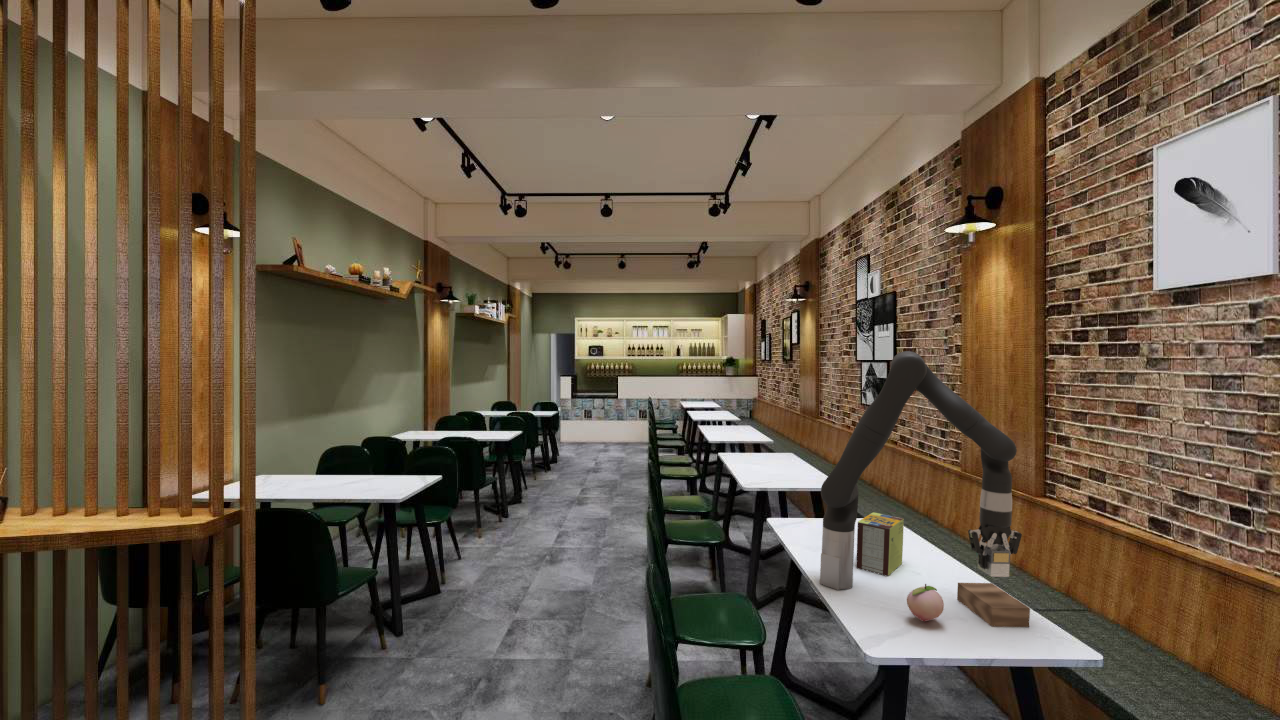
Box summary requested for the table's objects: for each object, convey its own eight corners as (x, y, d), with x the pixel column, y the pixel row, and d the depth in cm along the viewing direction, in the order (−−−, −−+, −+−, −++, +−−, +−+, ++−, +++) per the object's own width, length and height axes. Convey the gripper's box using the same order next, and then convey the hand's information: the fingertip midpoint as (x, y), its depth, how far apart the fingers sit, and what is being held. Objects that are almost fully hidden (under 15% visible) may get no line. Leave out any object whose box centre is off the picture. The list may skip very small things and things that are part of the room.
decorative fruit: (931, 633, 149) (933, 594, 149) (901, 620, 156) (902, 583, 155) (949, 623, 155) (951, 586, 154) (919, 611, 161) (921, 575, 161)
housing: (995, 568, 164) (996, 543, 164) (1009, 577, 158) (1010, 551, 158) (977, 567, 164) (978, 543, 164) (991, 576, 158) (992, 551, 158)
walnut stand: (1029, 626, 154) (1029, 608, 154) (991, 626, 153) (992, 607, 153) (991, 600, 170) (991, 583, 170) (957, 599, 169) (957, 582, 169)
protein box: (902, 563, 197) (904, 518, 197) (888, 576, 185) (890, 528, 185) (870, 555, 204) (872, 511, 203) (855, 568, 192) (856, 521, 192)
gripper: (978, 510, 157) (975, 573, 157) (1030, 511, 157) (1028, 573, 158) (962, 502, 164) (959, 562, 165) (1012, 503, 165) (1010, 563, 165)
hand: (993, 567), depth 161 cm, fingers closed on housing, 5 cm apart
